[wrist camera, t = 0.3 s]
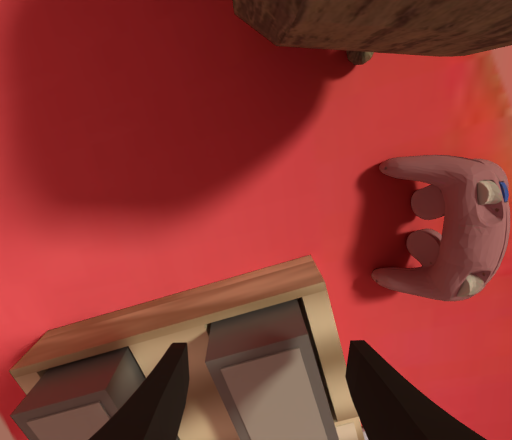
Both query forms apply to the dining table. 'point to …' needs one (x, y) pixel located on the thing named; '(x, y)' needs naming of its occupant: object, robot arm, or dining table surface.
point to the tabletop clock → (382, 25)
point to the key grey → (269, 375)
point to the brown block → (79, 396)
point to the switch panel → (206, 341)
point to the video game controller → (452, 226)
